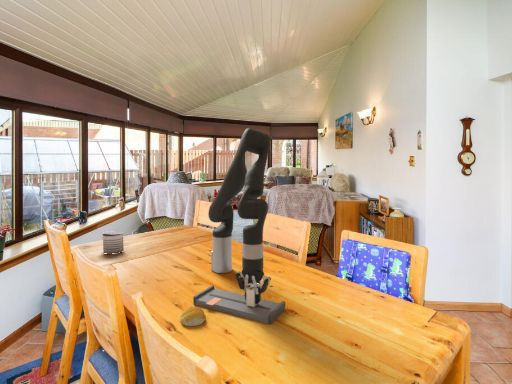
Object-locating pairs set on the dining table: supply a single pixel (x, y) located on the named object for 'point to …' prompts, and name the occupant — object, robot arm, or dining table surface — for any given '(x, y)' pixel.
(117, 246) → the can
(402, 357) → the dining table surface
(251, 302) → the fader cap
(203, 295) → the fader board
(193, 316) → the bread roll
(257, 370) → the dining table surface
